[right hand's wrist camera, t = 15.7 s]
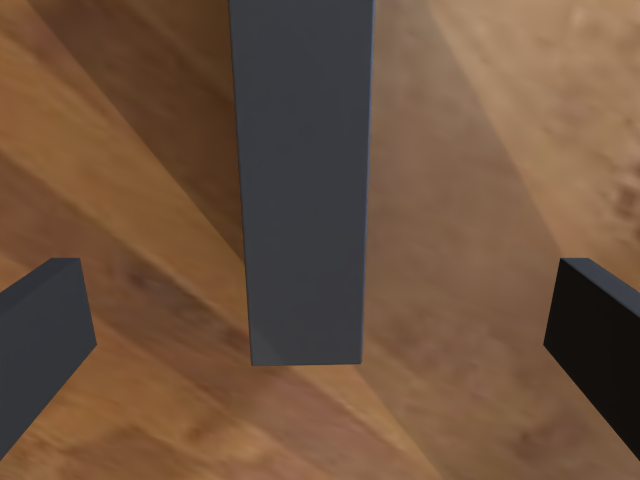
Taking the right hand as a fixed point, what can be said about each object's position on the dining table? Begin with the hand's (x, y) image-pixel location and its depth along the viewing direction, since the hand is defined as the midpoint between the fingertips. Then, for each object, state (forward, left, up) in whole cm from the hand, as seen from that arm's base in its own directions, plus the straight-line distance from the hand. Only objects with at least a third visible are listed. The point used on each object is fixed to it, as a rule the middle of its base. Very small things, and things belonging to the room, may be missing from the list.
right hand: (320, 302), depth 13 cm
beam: (-12, -22, -13) cm, 28 cm away
